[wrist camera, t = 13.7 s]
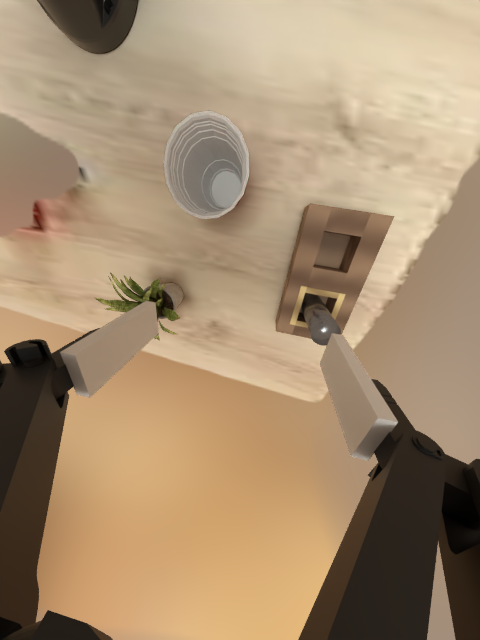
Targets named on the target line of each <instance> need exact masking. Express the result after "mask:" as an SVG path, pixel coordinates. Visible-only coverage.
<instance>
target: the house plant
mask: <svg viewBox="0 0 480 640" xmlns="http://www.w3.org/2000/svg"><path fill="white" fill-rule="evenodd" d="M110 274H111V273H110ZM111 276H112V278H113V280H114V281H115V283H116V284H117V286H118V287H119V288H120V289H121V290H122V291H123V292H124V294H126V295H127V296H128V297H130V298H131V299H133V300H136V301H138V302H134V301H129V300H127V299H125V298H124V297H122V296H121V294H120V293H119V292H118V291H117V289H116V287H115V286H114V284H113V282H112V281H111V282H112V284H113V287H114V289H115V291H116V292H117V293H118V295H119V296H120V297H121V298H122V299H123V300H124V301H121V300H110V301H109V300H104V299H97V298H95V297H94V298H95V299H97V300H98V301H100V302H101V303H103V304H105V305H108V306H111V307H115V308H107V310H112V311H121V312H128V311H130V310H132V309H133V308H135V307H137V306H138V305H140V304H142V303H143V302H145V301H150V302H155V303H156V313H157V321H158V319H165V318H168V319H169V320H171V321H174V320H176V319H178V318H180V317H178V315H177V314H176V312H174V311H175V310H176V308H177V307H178V306H179V304H180V303H181V302H182V300H183V292H182V289H181V288H180V287H179V286H178V285H176V284H174V283H165V284H159V280H160V279H158V280H156V281H154V282H153V283H152V284H151V286H149V287H147V288H146V289H145V290H143V289H142V288H141V287H140V286H139V285H138V284H137V283H136V282H134V281H133V280H132V279H131V278H130V279H129V281H128V279H127V278H126V277H125V276H124V277H125V280H126V282H127V284H128V285H129V286H130V288H131V289H132V290H133V291H134V292H136V293H137V294H139V295H137V294H135V293H134V292H132V291H131V290H130V289H129V288H127V287H126V286H125V284H124V283H123V281H122V280H121V283H122V284H121V283H120V282H119V281H118V280H117V279H116V278H115V276H114V275H112V274H111ZM108 277H109V276H108ZM109 279H110V278H109ZM110 280H111V279H110ZM141 298H142V299H141ZM104 309H105V308H104ZM159 323H160V321H159ZM160 326H161V328H162V329H163V330H164V331H166V332H168V333H171V334H176V333H174V332H172V331H170V330H168V329H166V328H165V327H163V326H162V325H161V323H160ZM177 335H178V334H177ZM154 338H155V339H156V338H157V339H158V340H159V336H158V334H157V335H156V336H155V337H154ZM159 341H160V340H159Z"/></svg>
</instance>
